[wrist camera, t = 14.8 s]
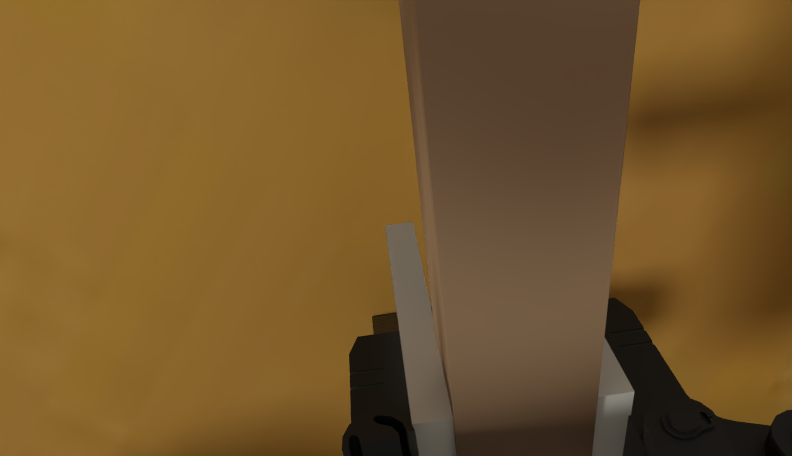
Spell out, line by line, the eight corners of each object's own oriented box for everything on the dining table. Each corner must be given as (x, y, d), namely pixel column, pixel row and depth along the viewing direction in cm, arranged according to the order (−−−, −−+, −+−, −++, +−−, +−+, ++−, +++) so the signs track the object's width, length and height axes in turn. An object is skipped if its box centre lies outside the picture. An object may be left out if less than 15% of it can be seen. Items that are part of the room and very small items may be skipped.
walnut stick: (540, 612, 20) (565, 704, 18) (466, 624, 20) (481, 717, 18) (582, -431, 7) (699, -558, 4) (355, -400, 6) (367, -514, 4)
